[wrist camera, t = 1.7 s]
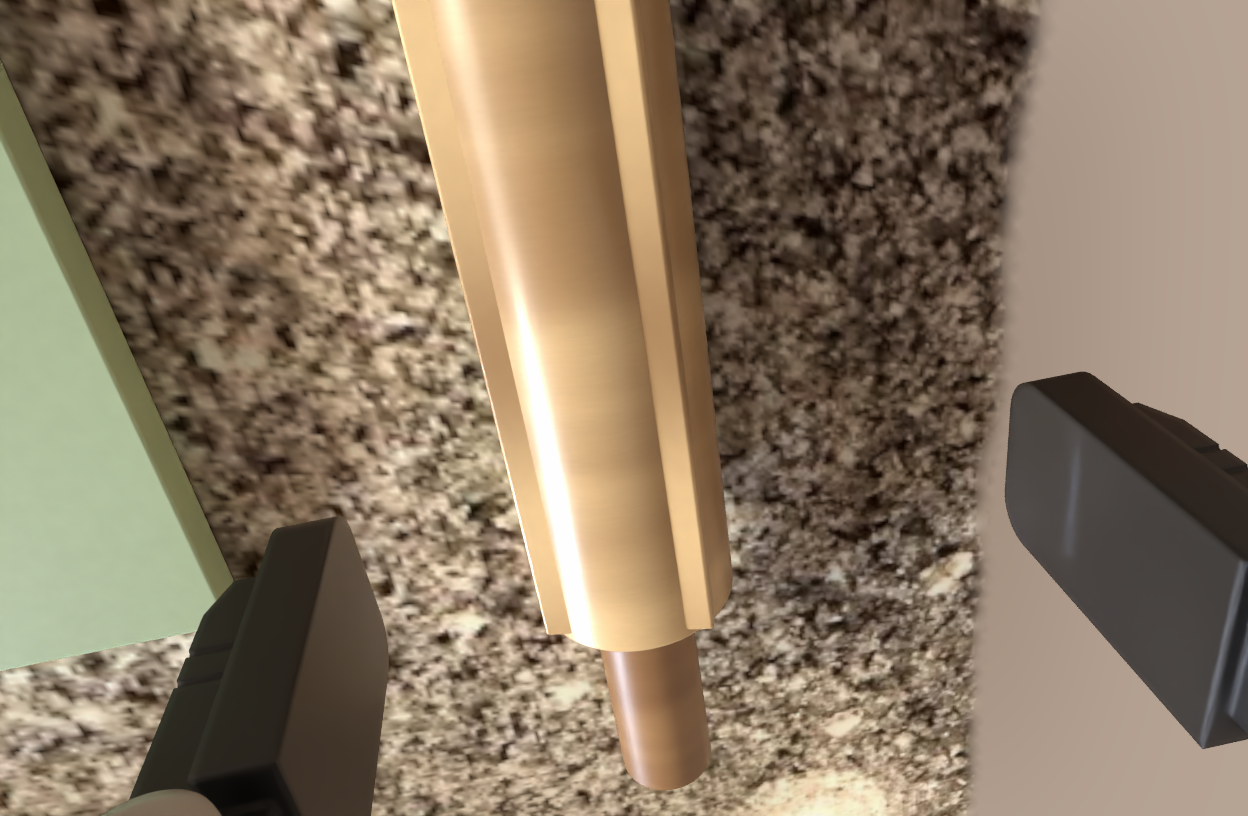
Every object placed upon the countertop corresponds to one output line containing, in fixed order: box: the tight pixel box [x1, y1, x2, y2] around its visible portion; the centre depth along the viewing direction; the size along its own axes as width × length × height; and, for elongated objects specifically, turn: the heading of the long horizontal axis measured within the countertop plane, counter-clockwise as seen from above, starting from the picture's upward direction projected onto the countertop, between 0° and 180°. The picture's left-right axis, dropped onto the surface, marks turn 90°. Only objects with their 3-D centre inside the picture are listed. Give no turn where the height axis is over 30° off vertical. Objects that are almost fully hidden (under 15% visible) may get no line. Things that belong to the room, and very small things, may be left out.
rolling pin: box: [392, 0, 733, 790], centre depth 18 cm, size 28×5×5 cm, turn 8°
